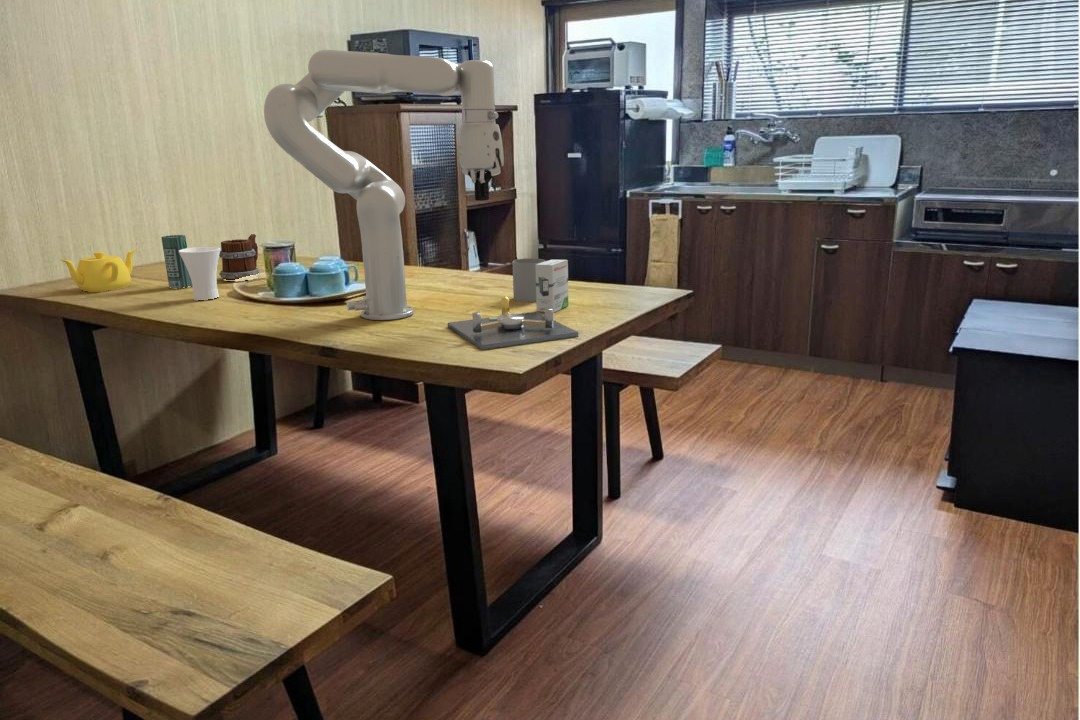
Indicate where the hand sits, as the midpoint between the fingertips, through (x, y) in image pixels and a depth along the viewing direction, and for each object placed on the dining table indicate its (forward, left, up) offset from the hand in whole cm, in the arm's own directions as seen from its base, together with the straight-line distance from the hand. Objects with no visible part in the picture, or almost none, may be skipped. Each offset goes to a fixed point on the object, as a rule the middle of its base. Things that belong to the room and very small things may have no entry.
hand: (482, 200), depth 183 cm
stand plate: (-2, -20, -27) cm, 34 cm away
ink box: (+16, -4, -27) cm, 32 cm away
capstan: (-1, -18, -26) cm, 31 cm away
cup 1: (-61, +55, -27) cm, 87 cm away
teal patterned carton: (-67, +77, -27) cm, 106 cm away
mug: (-49, +83, -27) cm, 100 cm away
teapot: (-87, +86, -27) cm, 125 cm away
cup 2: (+16, +10, -27) cm, 33 cm away
